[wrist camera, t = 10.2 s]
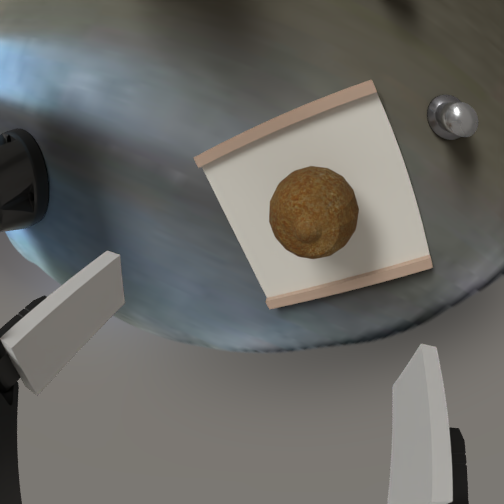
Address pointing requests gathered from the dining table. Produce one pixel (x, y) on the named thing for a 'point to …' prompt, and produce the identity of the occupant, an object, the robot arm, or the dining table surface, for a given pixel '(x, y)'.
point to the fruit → (313, 212)
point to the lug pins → (451, 117)
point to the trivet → (340, 161)
